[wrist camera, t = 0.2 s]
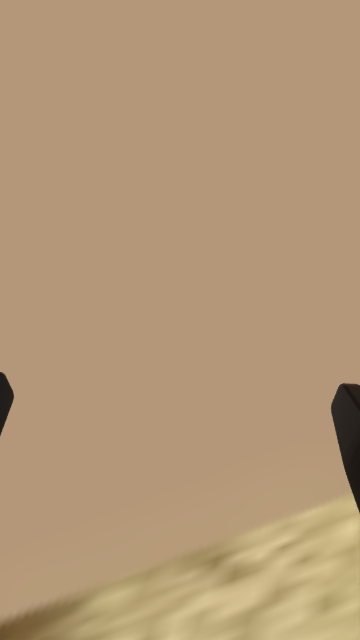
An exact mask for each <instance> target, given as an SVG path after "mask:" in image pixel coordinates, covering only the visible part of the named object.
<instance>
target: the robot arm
mask: <svg viewBox="0 0 360 640" xmlns="http://www.w3.org/2000/svg"><path fill="white" fill-rule="evenodd" d="M13 398H14V394H13V390H12V388H11V386H10V384H9V382H8V380H7V378H6V376H5V374H3V373H2V372H0V435H1V432H2V429H3V427H4V424H5V421H6V419H7V416H8V413H9V410H10V408H11V405H12V402H13ZM331 413H332V417H333V421H334V426H335V430H336V435H337V439H338V443H339V447H340V452H341V456H342V461H343V465H344V468H345V472H346V475H347V478H348V481H349V484H350V487H351V490H352V493H353V495H354V498H355V501H356V504H357V507H358V510H359V513H360V385H358V384H345V383H343V384H341V385H339V387H338V390H337V392H336V395H335V397H334V399H333V402H332V405H331Z"/></svg>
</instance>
